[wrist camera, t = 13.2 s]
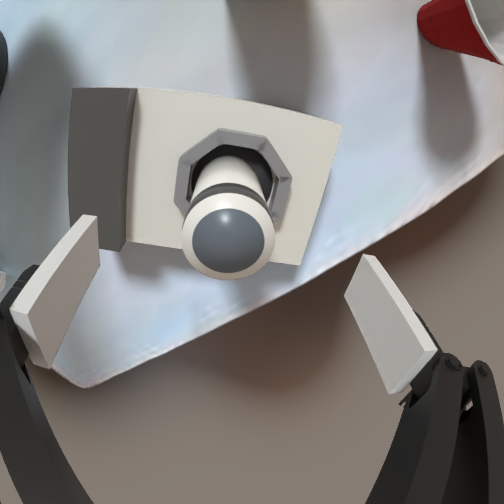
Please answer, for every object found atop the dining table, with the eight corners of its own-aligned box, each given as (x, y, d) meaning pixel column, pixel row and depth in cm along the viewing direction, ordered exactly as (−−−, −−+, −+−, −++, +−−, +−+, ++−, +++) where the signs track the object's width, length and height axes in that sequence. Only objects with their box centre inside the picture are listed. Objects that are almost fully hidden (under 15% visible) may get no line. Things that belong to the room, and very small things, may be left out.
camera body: (101, 209, 31) (72, 244, 24) (109, 86, 24) (72, 88, 17) (288, 236, 34) (304, 277, 27) (322, 118, 27) (352, 128, 21)
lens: (193, 207, 25) (176, 276, 16) (202, 149, 23) (185, 189, 14) (251, 215, 26) (264, 287, 17) (264, 160, 23) (287, 206, 15)
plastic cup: (470, 18, 19) (537, 17, 9) (457, 81, 25) (529, 94, 14) (406, -29, 17) (469, -54, 7) (389, 36, 22) (461, 25, 12)
